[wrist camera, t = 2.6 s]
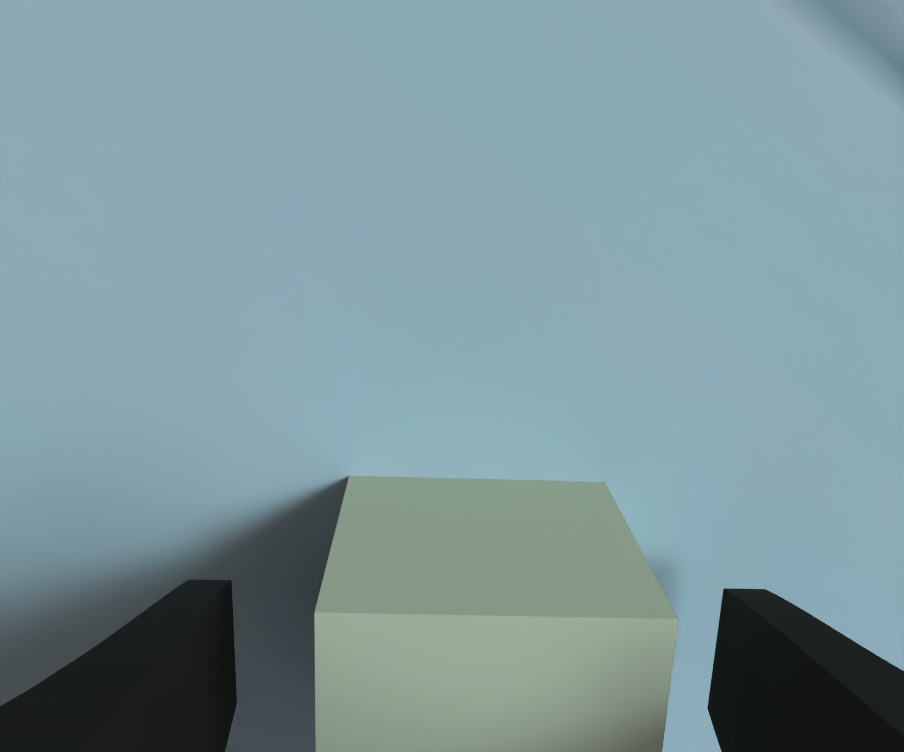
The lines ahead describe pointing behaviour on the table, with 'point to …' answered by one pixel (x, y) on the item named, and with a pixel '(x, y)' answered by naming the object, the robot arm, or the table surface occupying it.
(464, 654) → the top block
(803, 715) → the robot arm
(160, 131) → the table surface
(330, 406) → the table surface
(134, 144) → the table surface
